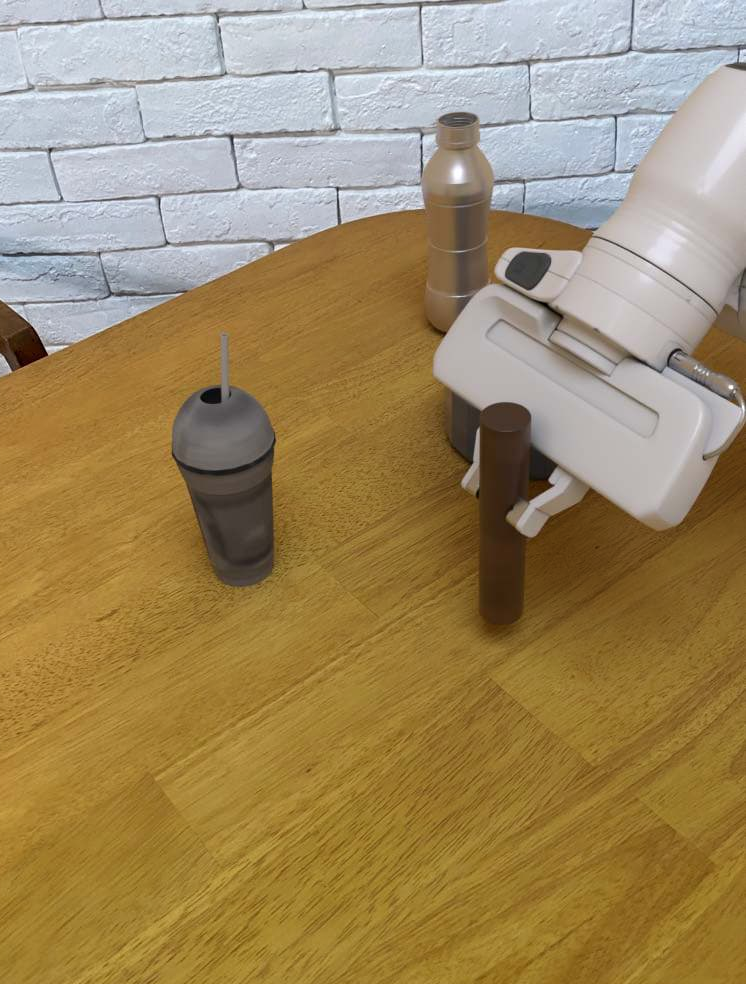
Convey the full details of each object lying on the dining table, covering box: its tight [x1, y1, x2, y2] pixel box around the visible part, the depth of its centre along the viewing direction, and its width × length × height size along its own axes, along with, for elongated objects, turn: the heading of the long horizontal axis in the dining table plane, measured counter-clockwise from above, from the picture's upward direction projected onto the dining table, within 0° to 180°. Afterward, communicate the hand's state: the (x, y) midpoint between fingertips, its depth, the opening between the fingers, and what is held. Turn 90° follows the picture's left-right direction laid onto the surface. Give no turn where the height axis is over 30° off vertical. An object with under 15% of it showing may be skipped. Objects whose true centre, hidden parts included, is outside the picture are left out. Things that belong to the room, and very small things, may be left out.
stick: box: [478, 402, 531, 626], centre depth 71 cm, size 3×3×16 cm
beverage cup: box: [171, 332, 277, 587], centre depth 79 cm, size 7×7×20 cm
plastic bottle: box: [420, 111, 495, 333], centre depth 103 cm, size 6×7×20 cm
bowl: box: [444, 385, 558, 480], centre depth 94 cm, size 14×14×6 cm
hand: (494, 511), depth 70 cm, fingers closed on stick, 3 cm apart
